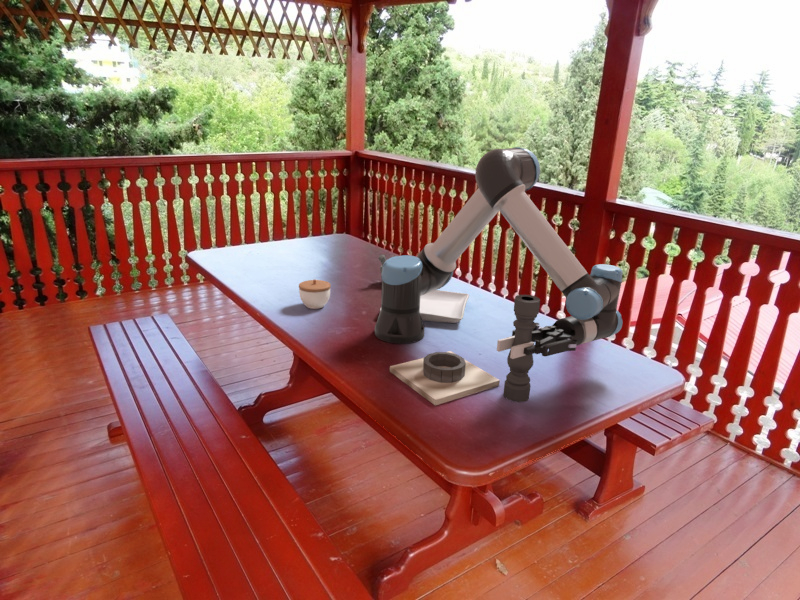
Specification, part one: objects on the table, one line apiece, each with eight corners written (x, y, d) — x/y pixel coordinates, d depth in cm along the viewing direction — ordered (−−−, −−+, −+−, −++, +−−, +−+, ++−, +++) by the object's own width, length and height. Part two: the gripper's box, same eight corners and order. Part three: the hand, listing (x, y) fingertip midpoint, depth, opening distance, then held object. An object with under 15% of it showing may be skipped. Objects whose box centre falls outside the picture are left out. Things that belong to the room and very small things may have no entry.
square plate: (461, 329, 173) (462, 317, 172) (378, 320, 178) (378, 309, 176) (468, 302, 198) (469, 292, 197) (395, 294, 203) (395, 284, 202)
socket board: (389, 371, 142) (390, 354, 140) (450, 355, 153) (451, 339, 151) (435, 405, 126) (436, 386, 125) (499, 385, 137) (501, 367, 135)
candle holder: (525, 389, 135) (537, 294, 127) (532, 402, 129) (544, 303, 121) (500, 389, 135) (511, 293, 127) (506, 402, 129) (517, 302, 121)
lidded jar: (335, 308, 186) (335, 282, 183) (305, 313, 181) (305, 286, 177) (323, 299, 194) (323, 273, 191) (294, 303, 189) (294, 277, 186)
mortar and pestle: (396, 278, 221) (397, 249, 217) (409, 285, 214) (410, 255, 210) (372, 282, 216) (373, 252, 212) (384, 288, 208) (385, 258, 204)
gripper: (599, 357, 132) (530, 379, 119) (546, 333, 145) (479, 350, 133) (603, 328, 129) (533, 347, 117) (549, 306, 142) (482, 322, 130)
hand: (505, 349), depth 125 cm, fingers closed on candle holder, 4 cm apart
